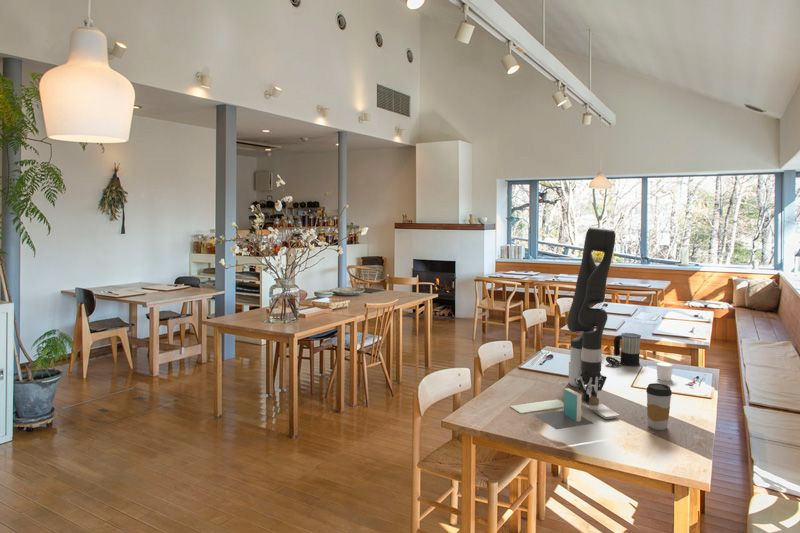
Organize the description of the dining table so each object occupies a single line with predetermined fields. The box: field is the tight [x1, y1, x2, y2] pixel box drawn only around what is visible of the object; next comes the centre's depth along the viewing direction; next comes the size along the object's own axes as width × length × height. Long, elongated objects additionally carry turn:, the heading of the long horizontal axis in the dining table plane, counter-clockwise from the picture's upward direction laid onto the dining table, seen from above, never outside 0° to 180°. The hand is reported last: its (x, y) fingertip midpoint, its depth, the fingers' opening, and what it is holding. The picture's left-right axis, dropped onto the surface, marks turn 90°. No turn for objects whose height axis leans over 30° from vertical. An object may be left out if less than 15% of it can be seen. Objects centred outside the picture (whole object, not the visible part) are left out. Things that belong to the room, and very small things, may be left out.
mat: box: [533, 409, 594, 430], centre depth 214 cm, size 15×16×1 cm
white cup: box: [656, 361, 674, 382], centre depth 262 cm, size 7×7×7 cm
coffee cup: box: [645, 382, 672, 431], centre depth 206 cm, size 8×8×15 cm
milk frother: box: [605, 332, 642, 367], centre depth 286 cm, size 14×16×15 cm
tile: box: [563, 387, 583, 422], centre depth 214 cm, size 8×2×10 cm, turn 19°
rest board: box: [509, 399, 564, 415], centre depth 227 cm, size 8×22×1 cm, turn 109°
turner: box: [578, 390, 620, 420], centre depth 221 cm, size 19×6×3 cm, turn 19°
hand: (589, 401), depth 225 cm, fingers closed on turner, 2 cm apart
